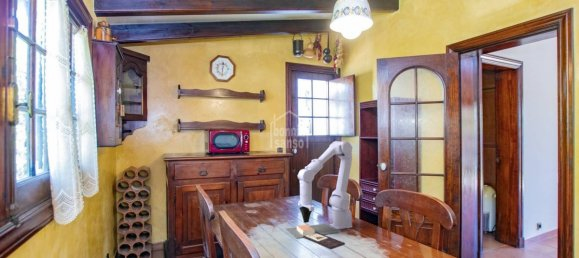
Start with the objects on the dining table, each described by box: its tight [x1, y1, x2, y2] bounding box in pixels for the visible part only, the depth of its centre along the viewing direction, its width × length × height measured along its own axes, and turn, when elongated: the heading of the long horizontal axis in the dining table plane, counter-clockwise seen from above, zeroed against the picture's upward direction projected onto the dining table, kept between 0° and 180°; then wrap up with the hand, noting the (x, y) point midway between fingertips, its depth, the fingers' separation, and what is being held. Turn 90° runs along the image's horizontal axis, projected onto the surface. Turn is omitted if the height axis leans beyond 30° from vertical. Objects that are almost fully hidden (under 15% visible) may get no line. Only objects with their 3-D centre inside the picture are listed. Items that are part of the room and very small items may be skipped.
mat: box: [286, 223, 339, 240], centre depth 150 cm, size 22×14×1 cm, turn 110°
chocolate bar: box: [302, 232, 346, 250], centre depth 137 cm, size 9×1×18 cm
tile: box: [296, 224, 315, 235], centre depth 147 cm, size 6×2×8 cm
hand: (306, 222), depth 146 cm, fingers closed
